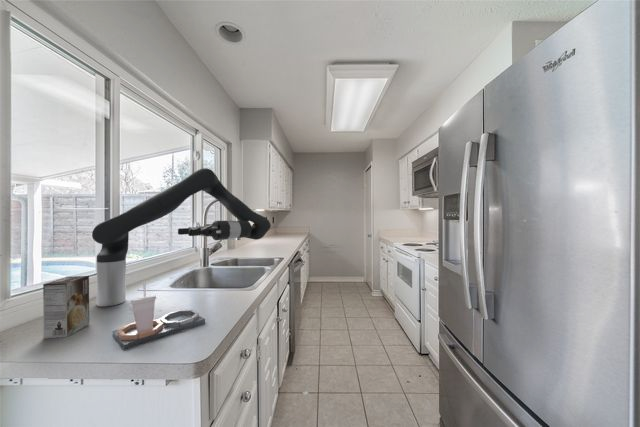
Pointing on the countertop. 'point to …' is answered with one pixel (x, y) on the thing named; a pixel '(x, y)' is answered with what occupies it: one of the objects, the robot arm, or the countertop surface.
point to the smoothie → (143, 311)
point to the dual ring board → (161, 333)
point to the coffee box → (65, 306)
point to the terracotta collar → (138, 335)
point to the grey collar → (182, 322)
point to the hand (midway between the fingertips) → (183, 232)
